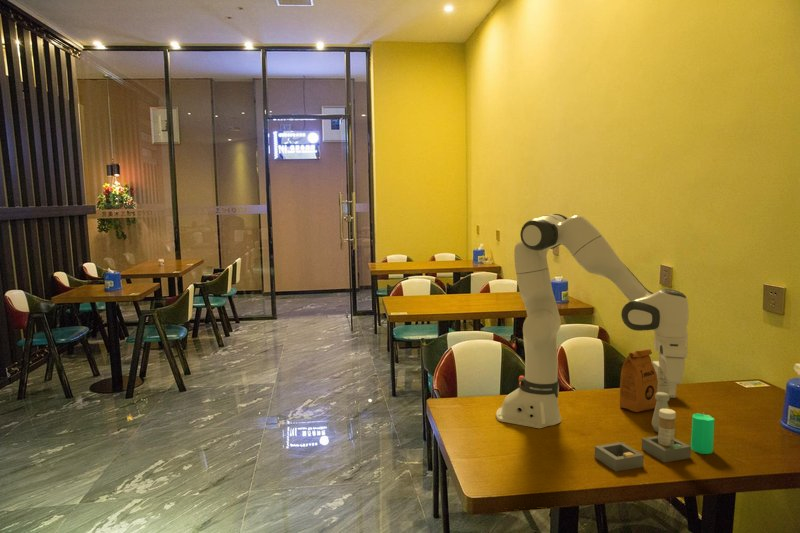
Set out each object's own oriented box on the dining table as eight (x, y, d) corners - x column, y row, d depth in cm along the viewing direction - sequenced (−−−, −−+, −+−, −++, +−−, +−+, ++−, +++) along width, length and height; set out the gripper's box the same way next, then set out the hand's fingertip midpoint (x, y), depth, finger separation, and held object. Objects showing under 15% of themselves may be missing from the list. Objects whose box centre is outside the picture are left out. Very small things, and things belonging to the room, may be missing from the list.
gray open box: (615, 471, 160) (616, 457, 160) (594, 457, 169) (595, 443, 169) (643, 466, 163) (643, 452, 163) (621, 452, 172) (621, 439, 172)
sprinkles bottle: (665, 449, 175) (667, 407, 173) (677, 455, 170) (679, 412, 169) (653, 451, 173) (655, 409, 172) (665, 457, 169) (667, 414, 167)
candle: (712, 455, 170) (714, 417, 169) (689, 451, 173) (691, 413, 172) (713, 448, 175) (715, 410, 174) (691, 443, 178) (693, 407, 177)
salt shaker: (672, 435, 185) (674, 396, 184) (653, 433, 186) (655, 395, 185) (667, 428, 191) (669, 390, 189) (649, 426, 192) (651, 389, 190)
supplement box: (650, 391, 228) (651, 360, 226) (669, 391, 227) (671, 361, 226) (656, 397, 220) (658, 366, 219) (676, 398, 220) (678, 366, 218)
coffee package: (661, 410, 207) (664, 351, 204) (636, 415, 202) (638, 355, 199) (639, 401, 216) (642, 345, 213) (615, 406, 211) (617, 349, 208)
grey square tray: (664, 462, 166) (665, 448, 165) (641, 449, 175) (642, 435, 174) (690, 457, 169) (691, 443, 168) (666, 444, 178) (667, 431, 177)
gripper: (654, 335, 179) (652, 378, 180) (664, 352, 159) (662, 399, 161) (676, 336, 177) (674, 379, 178) (688, 353, 157) (686, 401, 159)
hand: (668, 389), depth 169 cm, fingers open, 8 cm apart
